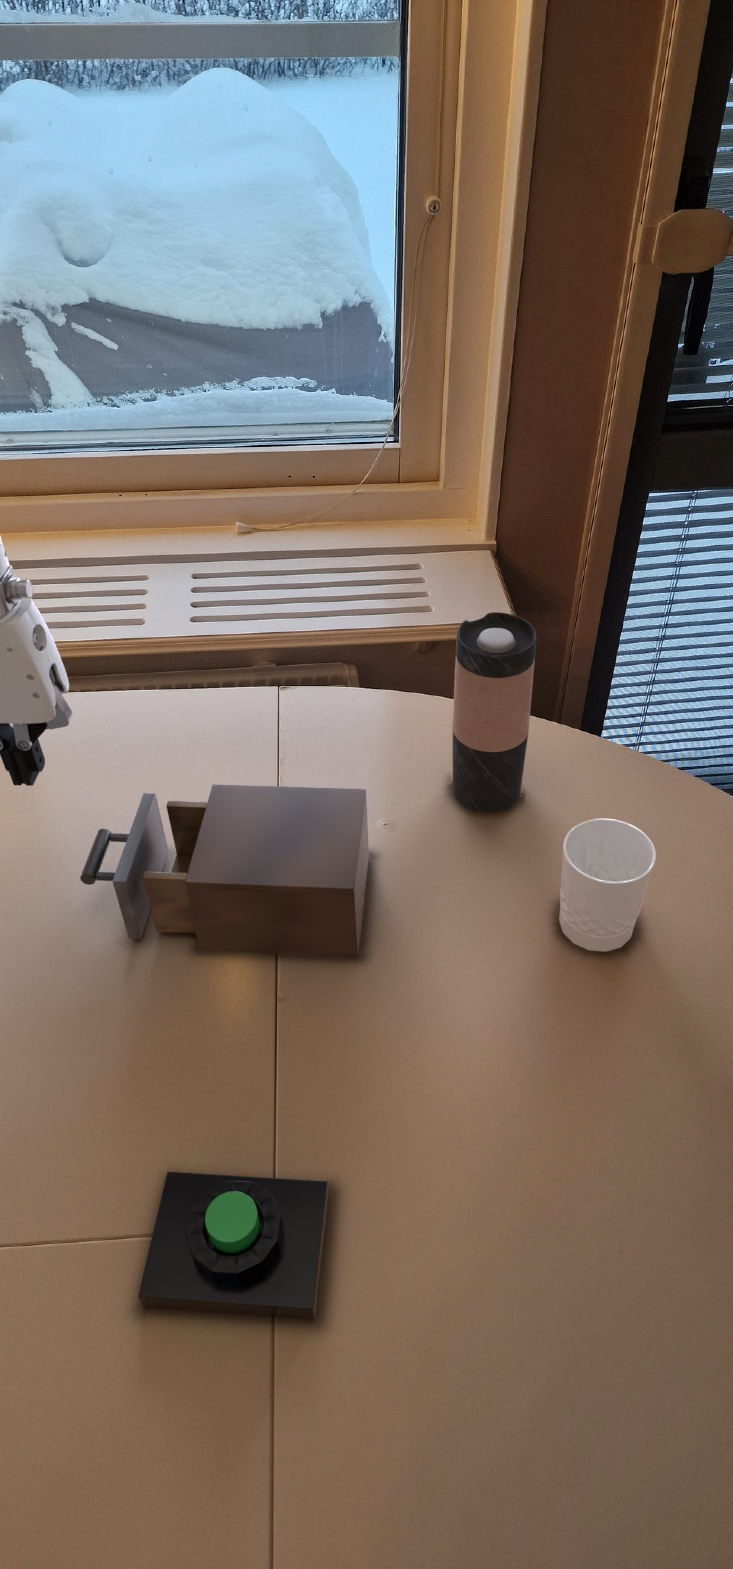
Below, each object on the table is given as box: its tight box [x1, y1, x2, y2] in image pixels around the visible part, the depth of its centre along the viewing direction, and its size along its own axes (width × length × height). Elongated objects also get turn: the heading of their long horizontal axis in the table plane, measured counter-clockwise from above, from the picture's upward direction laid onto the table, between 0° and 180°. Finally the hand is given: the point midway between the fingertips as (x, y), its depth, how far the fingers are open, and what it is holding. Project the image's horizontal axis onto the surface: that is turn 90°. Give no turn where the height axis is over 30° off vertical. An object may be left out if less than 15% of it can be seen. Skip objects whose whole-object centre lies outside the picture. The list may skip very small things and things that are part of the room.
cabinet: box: [185, 783, 370, 959], centre depth 96 cm, size 15×13×10 cm
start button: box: [205, 1191, 260, 1253], centre depth 72 cm, size 4×4×2 cm
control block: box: [138, 1171, 330, 1321], centre depth 73 cm, size 12×9×4 cm
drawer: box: [79, 792, 208, 940], centre depth 97 cm, size 18×11×8 cm, turn 85°
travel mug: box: [451, 611, 537, 813], centre depth 103 cm, size 8×8×20 cm
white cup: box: [558, 818, 657, 953], centre depth 93 cm, size 8×8×10 cm
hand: (29, 774), depth 91 cm, fingers closed
